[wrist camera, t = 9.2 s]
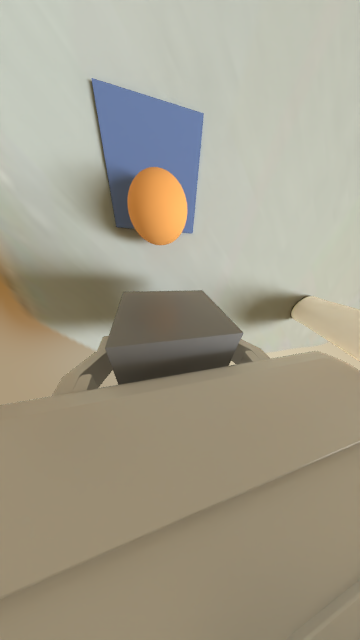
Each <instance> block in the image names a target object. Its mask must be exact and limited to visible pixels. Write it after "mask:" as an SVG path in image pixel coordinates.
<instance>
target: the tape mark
mask: <svg viewBox="0 0 360 640" xmlns="http://www.w3.org/2000/svg"><path fill="white" fill-rule="evenodd" d="M92 84H93V90H94V96H95V102H96V108H97V114H98V120H99V126H100V132H101V138H102V144H103V150H104V156H105V162H106V168H107V174H108V180H109V186H110V192H111V198H112V204H113V210H114V216H115V222H116V227H121V228H133V229H135V228H134V226H133V224H132V222H131V219H130V216H129V212H128V203H127V200H128V192H129V188H130V185H131V183H132V181H133V179H134V178H135V176H136V175H137V174H138V173H139V172H140V171H142V170H144V169H146V168H149V167H159V168H162V169H165V170H167V171H168V172H170V173H171V174H172V175H173V176H174V177H175V178H176V179H177V180H178V182H179V183H180V185H181V186H182V189H183V191H184V194H185V197H186V201H187V220H186V223H185V227H184V229H183V231H182V233H193V223H194V212H195V202H196V191H197V180H198V169H199V158H200V148H201V137H202V126H203V115H204V113H200V112H197V111H194V110H191V109H188V108H185V107H181V106H178V105H175V104H172V103H169V102H166V101H163V100H159V99H156V98H153V97H150V96H147V95H144V94H140V93H137V92H134V91H131V90H128V89H125V88H121V87H118V86H115V85H112V84H109V83H106V82H103V81H99V80H96V79H93V78H92Z"/></svg>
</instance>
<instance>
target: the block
mask: <svg viewBox="0 0 360 640" xmlns="http://www.w3.org/2000/svg"><path fill="white" fill-rule="evenodd" d="M242 335H243V332H242V331H241V330H240V329H239V328H238V327H237V326H236V325H235V324H234V323H233V322H232V321H231V320H230V319H229V317H228V316H227V315H226V314H225V313H224V312H223V311H222V310H221V309H220V308H219V307H218V306H217V305H216V304H215V303H214V302H213V301H212V300H211V299H210V298H209V297H208V296H207V295H206V294H205V293H204V292H203V291H202V290H198V291H150V292H123V295H122V298H121V301H120V304H119V307H118V310H117V313H116V316H115V319H114V322H113V325H112V328H111V331H110V334H109V337H108V340H107V343H106V346H105V350H106V352H107V355H108V358H109V360H110V363H111V366H112V368H113V371H114V374H115V376H116V379H117V382H118V385H120V384H126V383H132V382H138V381H144V380H149V379H155V378H161V377H167V376H173V375H179V374H184V373H190V372H196V371H202V370H208V369H213V368H219V367H225V366H229V363H230V361H231V359H232V357H233V355H234V352H235V350H236V348H237V346H238V344H239V341H240V339H241V337H242Z"/></svg>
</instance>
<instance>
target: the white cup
mask: <svg viewBox="0 0 360 640" xmlns="http://www.w3.org/2000/svg"><path fill="white" fill-rule="evenodd" d="M291 316H292V318H293V319H294V320H296V321H298V322H299V323H301V324H303V325H304V326H306V327H308V328H309V329H311V330H312V331H314V332H315V333H317V334H318V335H320V336H321V337H323V338H324V339H326V340H327V341H329V342H331V343H332V344H334V345H335V346H337V347H338V348H340V349H341V350H343V351H344V352H346V353H347V354H349V355H350V356H352V357H353V358H355V359H357V360H358V361H360V309H356V308H352V307H348V306H345V305H341V304H337V303H334V302H330V301H327V300H323V299H320V298H317V297H314V296H309V297H306V298H304V299H302V300H300V301H299V302H298V303H297V304H296V305H295V306H294V308H293V310H292V312H291Z"/></svg>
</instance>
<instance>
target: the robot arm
mask: <svg viewBox="0 0 360 640" xmlns="http://www.w3.org/2000/svg"><path fill="white" fill-rule="evenodd" d="M108 337H109V336H104V337H103V338H102V341H101V343H100V346H99V348H98V351H97V352H94V353H93V354H92V355H91V356H89V357H88V358H87V359H85V360H84V361H83V362H82V363H80V364H79V365H78V366H76V367H75V368H74V369H73V370H71V371H70V372H69V373H67V374H66V375H65V376H64V377H62V379H61V381H60V382H59V384H58V386H57V388H56V389H55V391H54V393H53V395H52V396H51V397H45V398H39V399H33V400H28V401H22V402H16V403H10V404H5V405H0V640H360V371H359V370H358V369H357V368H355V367H353V366H352V365H350V364H348V363H347V362H344V361H342V360H340V359H338V358H335V357H333V356H330V355H328V354H325V353H321V352H318V351H312V352H307V353H301V354H295V355H289V356H283V357H277V358H272V359H270V358H269V357H268V356H267V355H266V354H265V353H264V352H263V351H262V350H261V349H260V348H258V347H256V346H254V345H252V344H250V343H248V342H246V341H244V340H242V339H240V341H239V344H238V346H237V348H236V350H235V352H234V355H233V357H232V359H231V361H233V362H234V363H235V364H237V365H231V366H225V367H219V368H213V369H208V370H202V371H196V372H190V373H184V374H179V375H173V376H167V377H161V378H155V379H149V380H144V381H138V382H132V383H126V384H120V385H115V386H109V387H103V388H98V387H99V386H100V384H102V382H103V381H104V380H105V379H106V377H107V376H108V375H109V374H110V373H111V371H112V370H113V368H112V366H111V363H110V360H109V358H108V355H107V352H106V350H105V346H106V343H107V340H108Z"/></svg>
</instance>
